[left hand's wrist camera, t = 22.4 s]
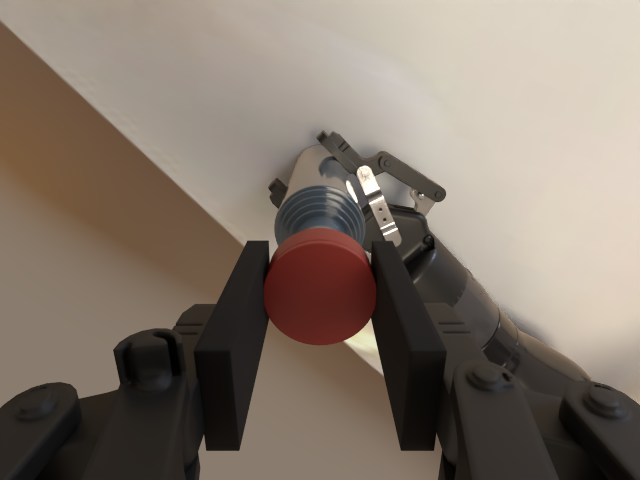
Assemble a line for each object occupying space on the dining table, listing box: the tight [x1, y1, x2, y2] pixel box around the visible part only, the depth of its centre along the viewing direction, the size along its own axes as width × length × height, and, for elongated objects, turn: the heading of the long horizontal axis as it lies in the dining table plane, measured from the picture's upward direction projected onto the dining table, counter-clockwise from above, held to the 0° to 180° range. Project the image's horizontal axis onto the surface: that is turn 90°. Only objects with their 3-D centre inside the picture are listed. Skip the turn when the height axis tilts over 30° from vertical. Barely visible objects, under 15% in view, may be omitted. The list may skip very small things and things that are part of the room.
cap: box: [264, 228, 377, 345], centre depth 14 cm, size 4×4×2 cm
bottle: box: [275, 145, 366, 246], centre depth 27 cm, size 5×5×23 cm
